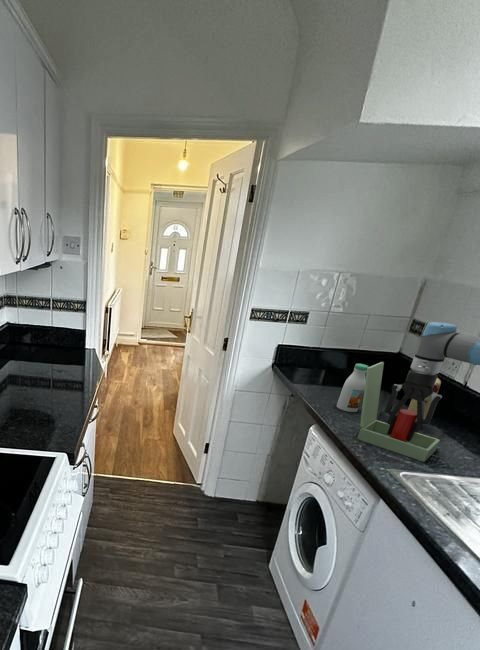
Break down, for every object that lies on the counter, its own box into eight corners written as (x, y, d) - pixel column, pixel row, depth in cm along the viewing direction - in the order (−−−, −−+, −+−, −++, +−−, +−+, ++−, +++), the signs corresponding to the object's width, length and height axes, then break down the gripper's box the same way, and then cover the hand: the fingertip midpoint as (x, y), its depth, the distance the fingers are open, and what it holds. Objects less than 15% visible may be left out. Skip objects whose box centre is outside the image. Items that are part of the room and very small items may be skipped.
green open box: (434, 452, 140) (440, 439, 138) (423, 464, 132) (428, 450, 130) (370, 431, 154) (374, 419, 152) (356, 440, 146) (360, 428, 144)
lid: (383, 362, 146) (381, 362, 146) (369, 368, 138) (367, 367, 138) (376, 418, 152) (374, 418, 152) (362, 427, 143) (359, 427, 144)
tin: (407, 445, 142) (419, 413, 138) (402, 449, 139) (415, 416, 134) (390, 439, 146) (401, 408, 141) (385, 443, 143) (397, 411, 138)
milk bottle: (336, 412, 170) (352, 366, 162) (334, 405, 177) (349, 360, 168) (357, 416, 168) (375, 369, 159) (354, 409, 174) (371, 364, 166)
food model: (421, 433, 155) (444, 383, 147) (400, 427, 159) (421, 378, 150) (422, 424, 163) (444, 377, 154) (402, 419, 166) (422, 372, 157)
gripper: (387, 366, 136) (365, 429, 145) (456, 381, 124) (427, 450, 133) (395, 363, 141) (373, 425, 150) (462, 377, 128) (434, 444, 137)
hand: (399, 436), depth 141 cm, fingers closed on tin, 5 cm apart
